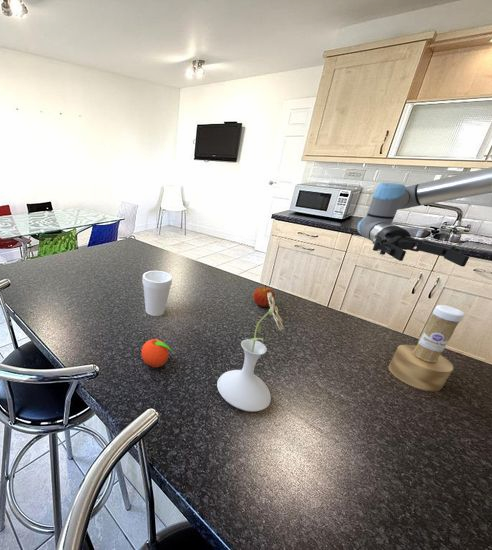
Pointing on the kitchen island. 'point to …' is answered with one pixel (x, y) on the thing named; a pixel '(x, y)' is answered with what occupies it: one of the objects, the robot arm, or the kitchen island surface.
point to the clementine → (155, 353)
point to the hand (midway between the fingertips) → (433, 258)
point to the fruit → (262, 296)
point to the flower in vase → (249, 372)
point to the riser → (419, 369)
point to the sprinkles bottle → (437, 333)
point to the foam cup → (156, 291)
